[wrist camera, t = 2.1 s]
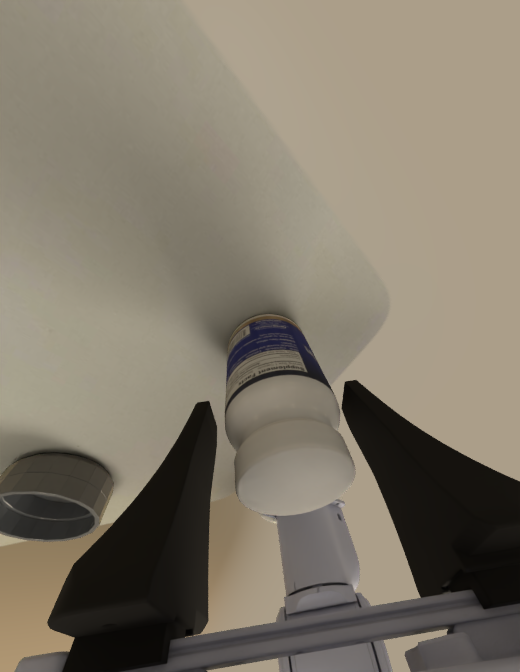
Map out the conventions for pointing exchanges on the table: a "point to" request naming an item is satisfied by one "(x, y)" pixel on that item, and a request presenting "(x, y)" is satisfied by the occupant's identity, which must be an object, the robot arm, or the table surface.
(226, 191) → the table surface
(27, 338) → the table surface
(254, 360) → the pill bottle
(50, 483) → the bowl
